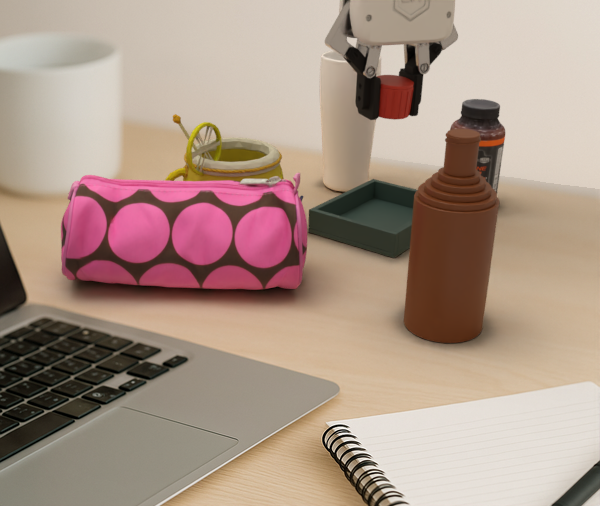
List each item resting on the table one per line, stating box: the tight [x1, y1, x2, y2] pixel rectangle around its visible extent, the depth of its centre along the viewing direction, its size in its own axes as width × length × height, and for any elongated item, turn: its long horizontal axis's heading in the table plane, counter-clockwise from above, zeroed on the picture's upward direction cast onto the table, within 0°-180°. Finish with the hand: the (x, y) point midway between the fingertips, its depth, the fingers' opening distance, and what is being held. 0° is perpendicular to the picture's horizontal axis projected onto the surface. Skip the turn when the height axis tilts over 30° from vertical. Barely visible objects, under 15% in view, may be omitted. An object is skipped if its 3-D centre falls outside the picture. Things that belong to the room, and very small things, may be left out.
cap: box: [377, 74, 414, 120], centre depth 80 cm, size 4×4×3 cm
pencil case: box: [60, 172, 308, 291], centre depth 72 cm, size 21×10×10 cm, turn 92°
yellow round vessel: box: [164, 113, 285, 181], centre depth 83 cm, size 13×11×12 cm
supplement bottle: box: [449, 98, 506, 194], centre depth 90 cm, size 6×6×11 cm
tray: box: [307, 178, 418, 259], centre depth 86 cm, size 12×10×2 cm
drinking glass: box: [319, 50, 382, 193], centre depth 94 cm, size 7×7×15 cm
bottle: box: [403, 129, 500, 344], centre depth 64 cm, size 6×6×16 cm
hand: (387, 112), depth 81 cm, fingers closed on cap, 3 cm apart
